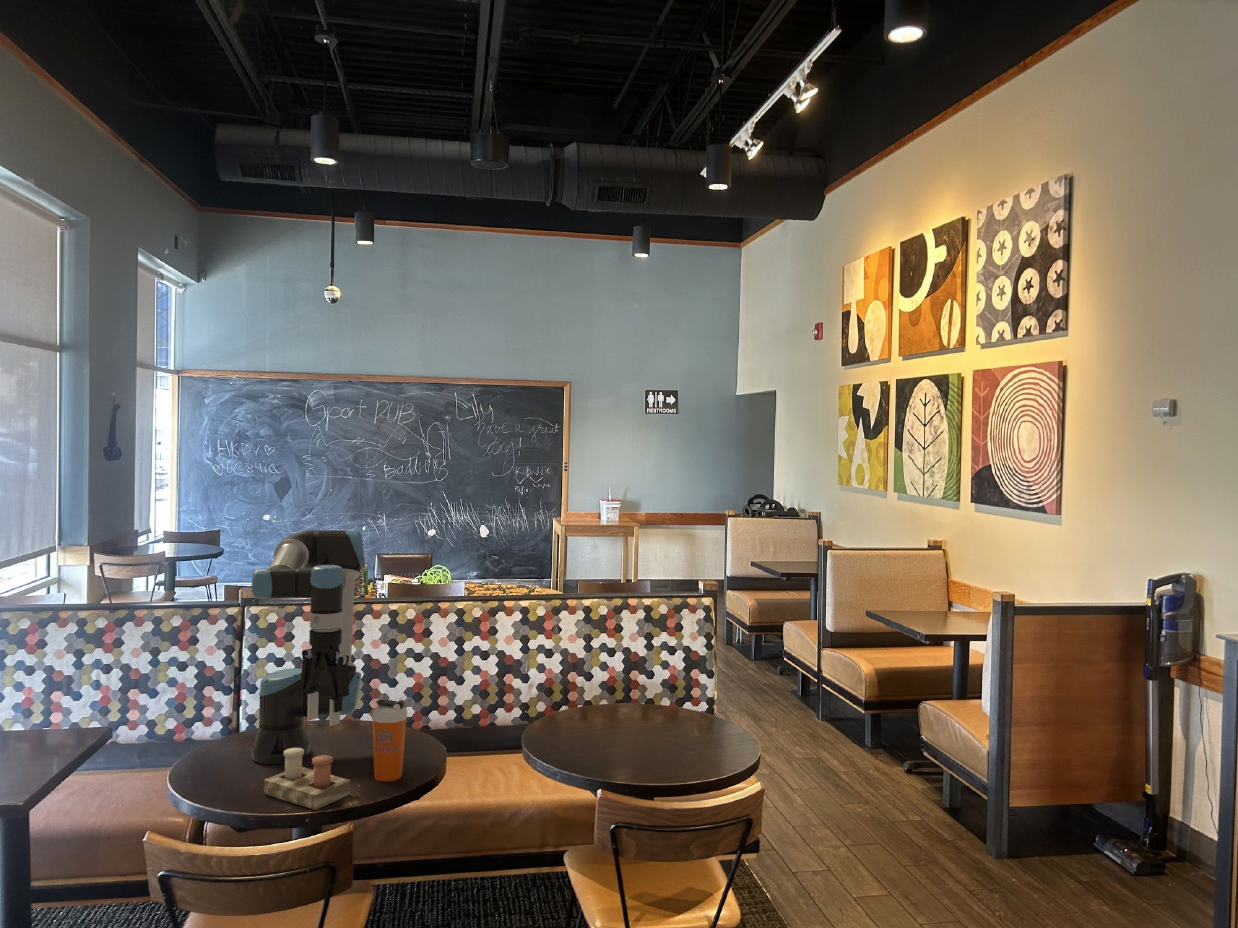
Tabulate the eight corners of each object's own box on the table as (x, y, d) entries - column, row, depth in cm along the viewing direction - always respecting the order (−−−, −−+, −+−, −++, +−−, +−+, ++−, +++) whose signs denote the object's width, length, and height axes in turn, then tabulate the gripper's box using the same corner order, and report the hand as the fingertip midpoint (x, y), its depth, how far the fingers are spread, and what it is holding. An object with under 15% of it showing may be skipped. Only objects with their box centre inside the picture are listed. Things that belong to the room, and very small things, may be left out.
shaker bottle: (374, 770, 228) (376, 696, 228) (408, 770, 229) (410, 696, 228) (367, 783, 219) (369, 706, 219) (402, 783, 220) (404, 706, 220)
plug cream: (278, 778, 212) (279, 751, 212) (294, 772, 217) (294, 746, 217) (292, 782, 210) (292, 755, 210) (307, 776, 215) (308, 749, 214)
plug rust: (307, 787, 208) (307, 759, 208) (322, 780, 212) (323, 753, 212) (321, 791, 206) (321, 763, 206) (336, 784, 210) (337, 757, 210)
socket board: (263, 793, 211) (264, 779, 210) (299, 779, 220) (299, 765, 220) (315, 809, 202) (316, 795, 202) (350, 793, 212) (350, 780, 212)
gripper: (285, 626, 210) (283, 718, 210) (343, 636, 200) (341, 733, 201) (309, 621, 216) (306, 710, 217) (366, 631, 207) (364, 724, 207)
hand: (323, 721), depth 209 cm, fingers open, 7 cm apart
